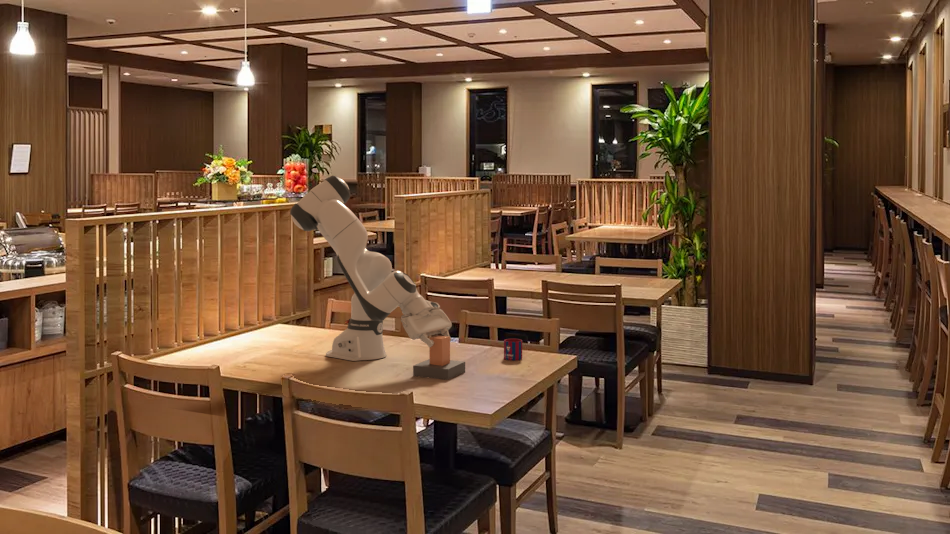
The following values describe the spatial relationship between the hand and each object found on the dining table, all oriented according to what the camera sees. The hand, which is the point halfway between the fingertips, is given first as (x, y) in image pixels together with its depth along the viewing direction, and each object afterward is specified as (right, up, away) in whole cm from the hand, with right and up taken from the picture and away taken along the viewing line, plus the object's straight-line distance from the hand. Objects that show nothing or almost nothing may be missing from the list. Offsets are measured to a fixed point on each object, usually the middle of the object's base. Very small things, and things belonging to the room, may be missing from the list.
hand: (440, 343), depth 291 cm
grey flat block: (-1, -11, +1) cm, 11 cm away
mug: (+26, -8, +27) cm, 39 cm away
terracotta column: (0, -7, +1) cm, 7 cm away
